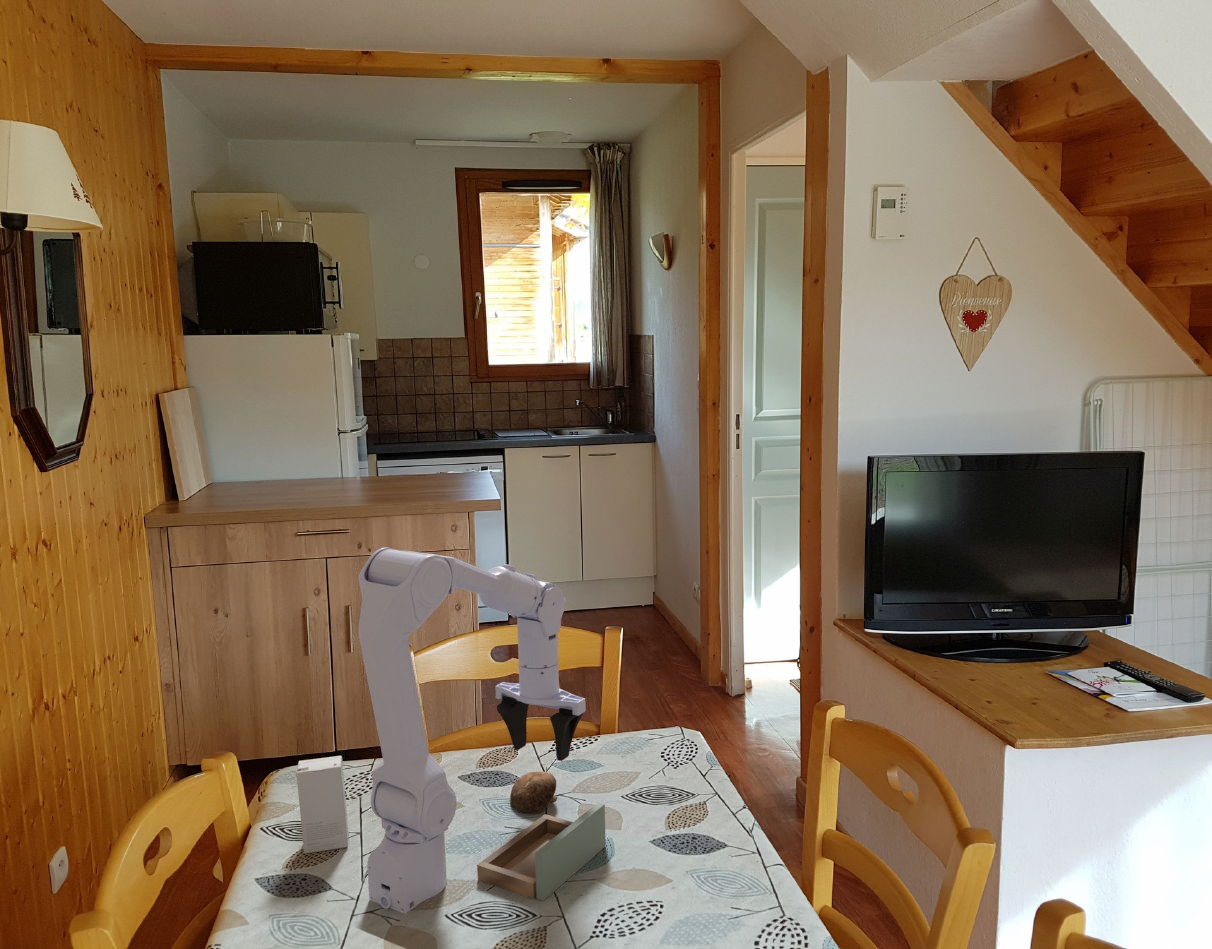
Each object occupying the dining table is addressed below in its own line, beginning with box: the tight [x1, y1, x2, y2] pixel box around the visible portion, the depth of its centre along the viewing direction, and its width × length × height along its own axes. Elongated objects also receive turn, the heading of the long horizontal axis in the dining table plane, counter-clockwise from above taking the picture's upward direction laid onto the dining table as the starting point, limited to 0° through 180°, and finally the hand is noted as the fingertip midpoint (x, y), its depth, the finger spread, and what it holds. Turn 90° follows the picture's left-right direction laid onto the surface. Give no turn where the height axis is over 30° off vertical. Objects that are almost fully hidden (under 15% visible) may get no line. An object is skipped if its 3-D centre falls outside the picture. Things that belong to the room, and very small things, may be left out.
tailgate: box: [535, 802, 607, 902], centre depth 121 cm, size 1×15×6 cm, turn 149°
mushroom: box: [509, 771, 558, 815], centre depth 140 cm, size 8×8×6 cm
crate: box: [476, 814, 574, 900], centre depth 124 cm, size 9×15×4 cm, turn 149°
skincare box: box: [295, 755, 350, 854], centre depth 132 cm, size 6×4×12 cm
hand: (541, 752), depth 138 cm, fingers open, 7 cm apart
